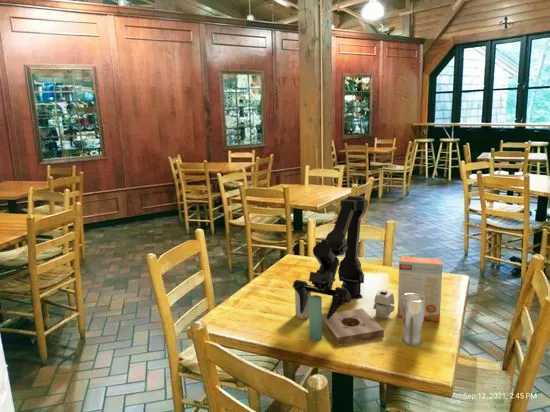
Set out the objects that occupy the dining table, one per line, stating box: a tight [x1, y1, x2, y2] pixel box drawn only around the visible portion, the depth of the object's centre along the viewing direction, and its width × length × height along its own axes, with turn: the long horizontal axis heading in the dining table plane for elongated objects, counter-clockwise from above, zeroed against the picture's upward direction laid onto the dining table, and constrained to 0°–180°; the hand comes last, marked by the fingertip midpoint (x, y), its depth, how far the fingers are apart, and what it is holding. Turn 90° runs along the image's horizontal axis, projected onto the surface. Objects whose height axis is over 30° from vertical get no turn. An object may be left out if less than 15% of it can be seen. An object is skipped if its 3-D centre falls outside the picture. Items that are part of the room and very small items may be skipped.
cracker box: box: [397, 255, 443, 322], centre depth 151 cm, size 14×6×21 cm, turn 70°
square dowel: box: [294, 282, 312, 320], centre depth 155 cm, size 4×4×12 cm
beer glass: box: [401, 293, 425, 347], centre depth 136 cm, size 7×7×15 cm
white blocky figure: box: [373, 289, 395, 319], centre depth 152 cm, size 6×7×10 cm
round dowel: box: [308, 294, 323, 342], centre depth 140 cm, size 4×4×14 cm
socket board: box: [322, 308, 385, 346], centre depth 146 cm, size 16×16×2 cm
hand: (314, 315), depth 139 cm, fingers open, 9 cm apart
